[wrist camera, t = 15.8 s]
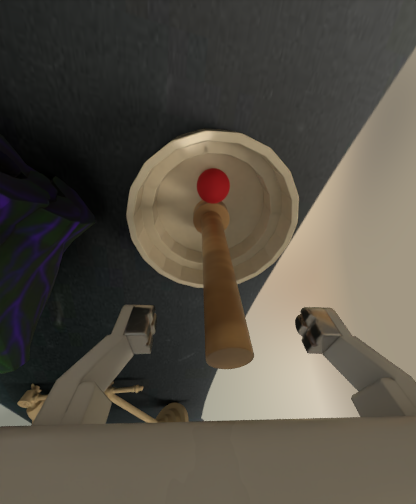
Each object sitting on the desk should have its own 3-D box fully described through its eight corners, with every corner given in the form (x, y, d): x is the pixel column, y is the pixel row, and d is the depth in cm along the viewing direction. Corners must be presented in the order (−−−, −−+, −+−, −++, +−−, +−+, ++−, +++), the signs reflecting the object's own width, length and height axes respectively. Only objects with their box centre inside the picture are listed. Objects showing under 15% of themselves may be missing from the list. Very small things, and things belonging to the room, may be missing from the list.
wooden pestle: (229, 198, 20) (287, 335, 7) (225, 230, 22) (262, 375, 9) (193, 196, 19) (184, 336, 7) (193, 229, 22) (185, 377, 9)
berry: (226, 198, 19) (229, 166, 18) (229, 209, 17) (234, 172, 15) (197, 197, 19) (197, 164, 18) (195, 207, 17) (196, 170, 15)
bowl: (296, 135, 17) (331, 139, 12) (258, 260, 26) (271, 288, 21) (131, 122, 16) (104, 122, 11) (151, 257, 25) (141, 287, 20)
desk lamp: (193, 458, 49) (75, 390, 34) (101, 493, 55) (-34, 448, 40) (194, 396, 63) (109, 328, 48) (120, 429, 69) (24, 378, 54)
